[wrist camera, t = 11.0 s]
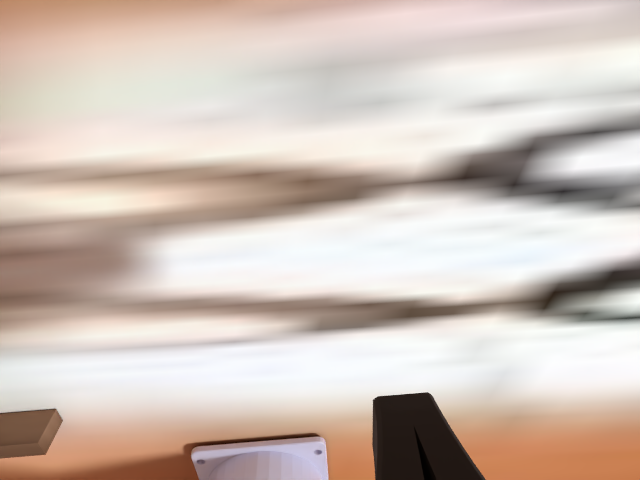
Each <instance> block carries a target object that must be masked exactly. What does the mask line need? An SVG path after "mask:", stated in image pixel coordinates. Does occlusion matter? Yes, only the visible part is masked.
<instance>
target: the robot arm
mask: <svg viewBox="0 0 640 480" xmlns="http://www.w3.org/2000/svg"><path fill="white" fill-rule="evenodd" d="M373 453H374V464H375V480H485V478H484V477H483V475H482V474H481V472H480V471H479V470H478V468H477V467H476V465H475V464H474V463H473V461H472V460H471V458H470V457H469V455H468V454H467V452H466V451H465V449H464V448H463V446H462V445H461V443H460V442H459V440H458V438H457V437H456V435H455V434H454V432H453V431H452V429H451V427H450V426H449V424H448V423H447V421H446V419H445V418H444V416H443V414H442V412H441V411H440V409H439V407H438V405H437V404H436V402H435V400H434V398H433V396H432V395H431V394H429V393H428V392H427V393H415V394H403V395H391V396H378V397H377V398H375V399H374V400H373ZM191 459H192V461H193V464H194V467H195V470H196V472H197V475H198V478H199V480H329V479H328V467H327V454H326V442H325V439H324V438H322V437H305V438H293V439H281V440H269V441H257V442H245V443H233V444H221V445H209V446H198V447H195V448H193V449H192V452H191Z"/></svg>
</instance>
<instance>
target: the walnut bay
mask: <svg viewBox="0 0 640 480" xmlns="http://www.w3.org/2000/svg"><path fill="white" fill-rule="evenodd" d="M62 421H63V420H62V419H61V417H60V415H59V413H58V412H57V410H56V409H53V410H40V411H28V412H16V413H3V414H0V458H10V457H22V456H35V455H46V453H47V451H48V449H49V447H50V445H51V443H52V441H53V439H54V437H55V435H56V433H57V431H58V429H59V427H60V425H61V423H62Z"/></svg>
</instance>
